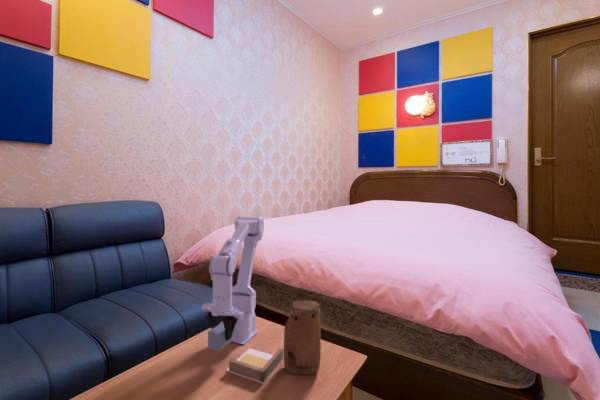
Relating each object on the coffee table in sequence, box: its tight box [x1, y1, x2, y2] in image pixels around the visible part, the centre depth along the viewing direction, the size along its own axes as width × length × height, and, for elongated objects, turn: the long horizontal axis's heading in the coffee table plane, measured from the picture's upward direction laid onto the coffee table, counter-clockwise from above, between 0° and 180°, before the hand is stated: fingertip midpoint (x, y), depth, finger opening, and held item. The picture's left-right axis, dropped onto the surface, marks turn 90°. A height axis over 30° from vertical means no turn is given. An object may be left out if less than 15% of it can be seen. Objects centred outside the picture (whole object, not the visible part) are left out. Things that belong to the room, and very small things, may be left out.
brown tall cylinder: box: [283, 299, 322, 375], centre depth 86 cm, size 11×8×20 cm
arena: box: [225, 347, 284, 385], centre depth 88 cm, size 12×13×3 cm
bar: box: [207, 321, 235, 352], centre depth 88 cm, size 8×4×5 cm, turn 157°
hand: (222, 337), depth 88 cm, fingers closed on bar, 4 cm apart
